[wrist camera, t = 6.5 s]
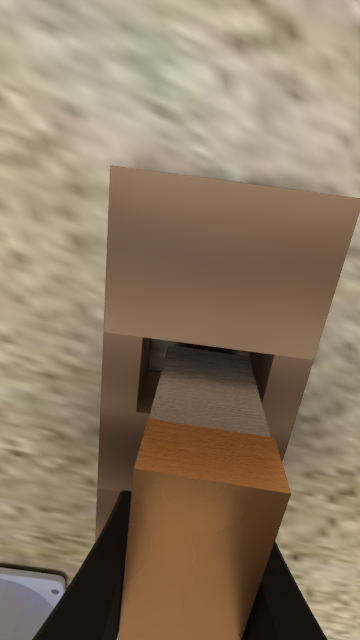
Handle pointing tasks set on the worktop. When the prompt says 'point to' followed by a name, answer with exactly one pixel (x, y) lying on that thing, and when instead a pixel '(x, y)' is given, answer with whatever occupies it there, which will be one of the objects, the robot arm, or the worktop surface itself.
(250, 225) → the brown wooden peg board
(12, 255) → the worktop surface
